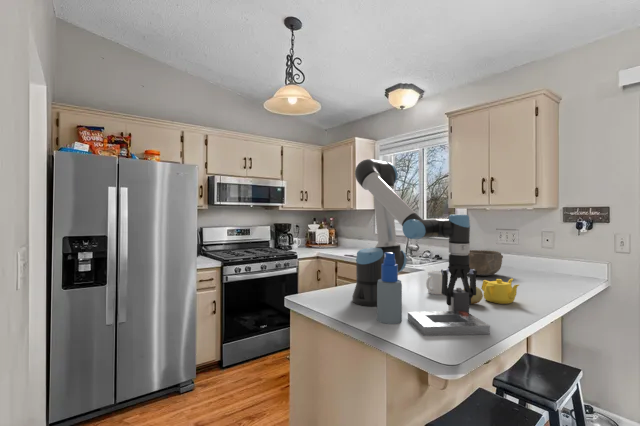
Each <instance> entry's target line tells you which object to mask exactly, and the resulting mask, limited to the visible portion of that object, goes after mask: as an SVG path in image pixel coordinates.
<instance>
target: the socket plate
mask: <svg viewBox="0 0 640 426" xmlns="http://www.w3.org/2000/svg"><path fill="white" fill-rule="evenodd" d="M407 321H409V322H410V323H411V324H412V325H413V327H414V328H416V329H417V331H418V332H420V333H421V334H422V335H423V336H425V337H426V336H427V337H429V336H430V337H431V336H459V335H460V336H463V335H464V336H466V335H467V336H468V335H469V336H471V335H473V336H474V335H490V334H491V332H490V331H491V330H490V329H491V325H490V324H488V323H486V322H484V321H483V320H481V319H480V318H478V317H476V316H475V315H473V314H471V313H470V312H469V313H468V312H466V311H448V310H447V311H446V310H445V311H440V310H439V311H407Z"/></svg>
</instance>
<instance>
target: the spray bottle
mask: <svg viewBox="0 0 640 426" xmlns="http://www.w3.org/2000/svg"><path fill="white" fill-rule="evenodd" d="M398 275H399V273H398V264H396V260H395V253H392V252H385V253H384V263H383V264H381V279H379V280H378V282H377V306H376V320H377V321H378V322H379V323H381V324H386V325H387V324H388V325H396V324H400V323H402V321H403V319H402V316H403V314H402V312H403V307H402V304H403V293H402V292H403V283H402V280H400V279H399V277H398Z"/></svg>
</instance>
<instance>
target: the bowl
mask: <svg viewBox="0 0 640 426" xmlns="http://www.w3.org/2000/svg"><path fill="white" fill-rule="evenodd" d="M468 255H469V256H470V263H469V267H470V269H474V270H477V274H476V276H491V275H492V276H493V275H495V274H496V273H498V272H499V271H500V270H501V268H502V265H503V259H504V256H503V255H504V254H503V255H502V253H501V252H500V251H497V250H488V249H487V250H486V249H484V250H482V249H470V253H469V254H468Z"/></svg>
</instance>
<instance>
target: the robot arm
mask: <svg viewBox="0 0 640 426" xmlns="http://www.w3.org/2000/svg"><path fill="white" fill-rule="evenodd" d="M354 172H355V173H354V175H355V176H354V177H355V180H356V181H357V183H358V184H359V186H360V187H362V189H363V190H365V191H368V192H370V194H371V195H372V196H373V203H374V214H375V224H376V234H377V244H375V247H366V248H362V249H359V250H358V251H357V253H356V257H355V259H356V260H355V261H356V263H355V264H356V265H355V267H356V268H355V269H356V270H355V271H356V273H355V274H356V277H355V278H356V285H355V287H354V289H353V293H352V302H353V304H356V305H359V306H367V307H377V282H378V280H379V279H381V264H383V263H384V253H385V252H392V253H395V260H396V264H398V274H399V273H401V272H402V271H403V270H404V269H405V268H406V265H407V262H408V261H407V255H406V253H405V252H404V250H403V249H401V244H400V243H399V242H398V241H397V233H396V232H397V231H396V225H395V224H396V223H395V220H396V221H397V222H398V223H399V224H400V226H401V227H402V229H401V230H402V232H403V236H405V237H406V238H407V239H410V240H420V239H432V238H444V239H448V253H449V254H448V267H447V268H445V269H443V268H442V269H441V270H440V271H441V273H442V292H441V293H442V294H443V296H445V297H446V298H445V300H446V303H445V304H446V305H447V307H448V310H447V311H453V306H454V298H453V297H452V293H453V290H455V286H456V282H457V281H458V279H460V280H461V281H462V285H463V289H464V290H465V291H466V292H469V306H471V305H472V304H471V298H472V297H473V295H476V287H477V278H476V277H477V275H476V274H477V270H474V269H470V267H469V263H470V256H469V255H468V254H469V253H470V250H471V248H470V247H471V246H470V242H471V241H470V240H471V239H470V233H471V232H470V231H471V229H470V228H471V222H470V221H471V220H470V216H469V215H468V214H449V215H448V218H445V219H442V218H441V219H440V218H424V219H423V218H422V217H421V216H420V215H418V214H417V212H415V211H414V210H413V208H412V207H411V206H409V205H408V204H407V202H405V201H404V200H403V198H402V197H400V196H399V195H398V194H397V193H396V192H395V191H394V190H395V189H394V188H395V184H396V182H397V180H398V177H399V174H398V170H397V167H396V166H395V164H393V163H391V162H388V161H386V160H383V161H382V160H377V159H370V158H369V159H368V158H367V159H363V160H361V161H360V162H359V163H358V164H357V165H356V167H355V170H354ZM449 273H450V276H449ZM468 274H469V278H468ZM469 286H470V287H469Z"/></svg>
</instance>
